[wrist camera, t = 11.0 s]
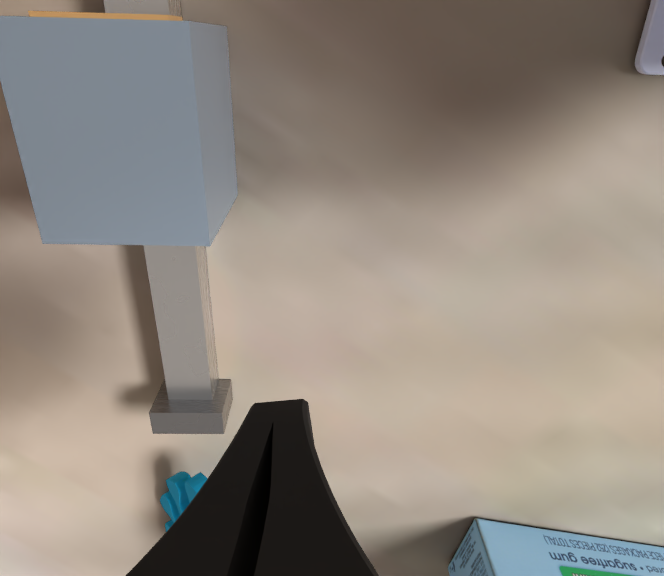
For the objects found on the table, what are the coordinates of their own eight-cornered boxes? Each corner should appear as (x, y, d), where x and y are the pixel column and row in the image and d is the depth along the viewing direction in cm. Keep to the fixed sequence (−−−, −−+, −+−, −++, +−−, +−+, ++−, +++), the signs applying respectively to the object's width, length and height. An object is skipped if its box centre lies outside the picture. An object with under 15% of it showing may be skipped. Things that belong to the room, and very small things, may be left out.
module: (226, 21, 17) (188, 14, 12) (237, 194, 20) (210, 246, 15) (80, 17, 17) (-19, 8, 12) (112, 192, 20) (42, 243, 15)
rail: (179, -209, 14) (154, -253, 12) (232, 399, 24) (223, 433, 22) (67, -214, 14) (22, -258, 12) (167, 398, 24) (152, 433, 22)
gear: (151, 444, 24) (283, 628, 19) (251, 393, 27) (382, 533, 22) (148, 558, 30) (247, 718, 25) (230, 503, 34) (329, 632, 29)
